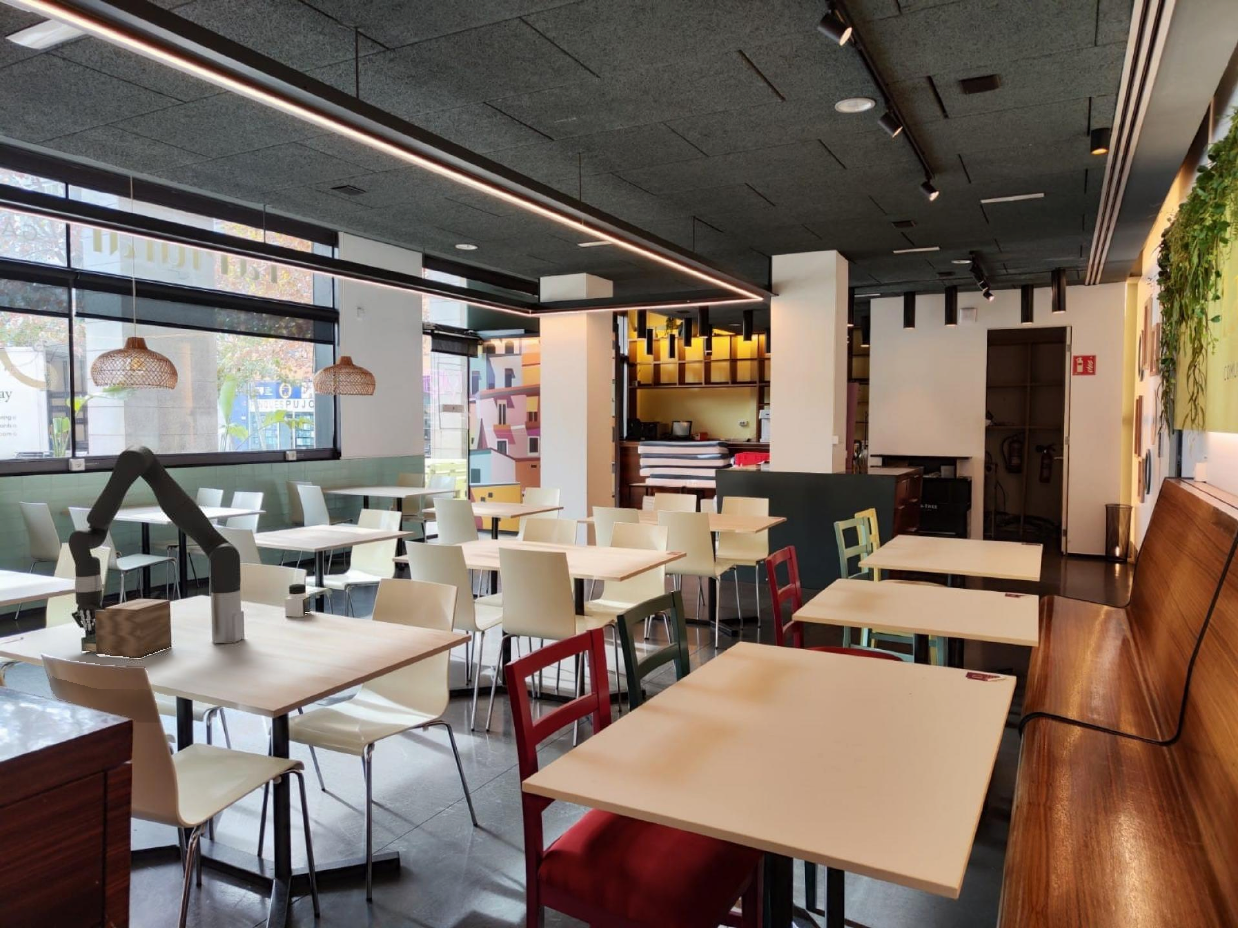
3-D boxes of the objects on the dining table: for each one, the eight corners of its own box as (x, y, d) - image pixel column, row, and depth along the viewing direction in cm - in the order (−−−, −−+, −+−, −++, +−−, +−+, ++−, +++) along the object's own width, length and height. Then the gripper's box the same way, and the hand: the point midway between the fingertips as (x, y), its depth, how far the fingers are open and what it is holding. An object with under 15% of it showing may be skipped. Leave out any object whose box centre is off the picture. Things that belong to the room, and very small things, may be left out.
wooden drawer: (152, 647, 280) (151, 632, 279) (125, 656, 269) (125, 640, 269) (109, 644, 283) (108, 629, 283) (81, 653, 273) (81, 637, 272)
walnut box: (171, 647, 280) (170, 600, 279) (138, 659, 266) (136, 609, 265) (130, 645, 283) (129, 598, 282) (96, 656, 270) (94, 607, 269)
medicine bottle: (303, 617, 322) (302, 586, 322) (285, 617, 322) (284, 586, 322) (310, 612, 329) (310, 582, 329) (292, 612, 329) (291, 582, 329)
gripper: (62, 590, 275) (64, 642, 276) (96, 591, 272) (98, 644, 273) (81, 585, 283) (84, 636, 284) (114, 587, 280) (116, 638, 281)
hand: (91, 640), depth 279 cm, fingers closed
